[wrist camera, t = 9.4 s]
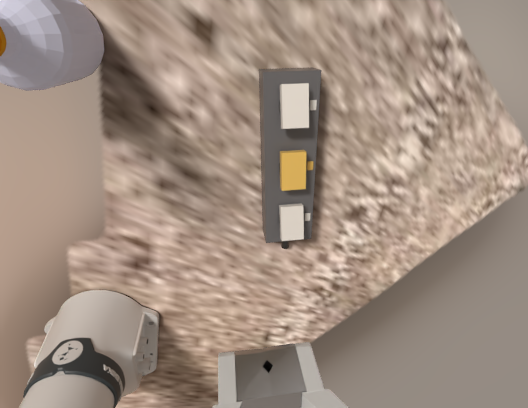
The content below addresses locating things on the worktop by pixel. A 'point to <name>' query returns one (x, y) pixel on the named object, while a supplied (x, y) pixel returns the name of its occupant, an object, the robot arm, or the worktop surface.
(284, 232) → the block
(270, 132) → the power strip
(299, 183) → the block
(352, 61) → the worktop surface
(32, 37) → the soap bottle
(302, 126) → the plate
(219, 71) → the worktop surface
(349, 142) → the worktop surface
